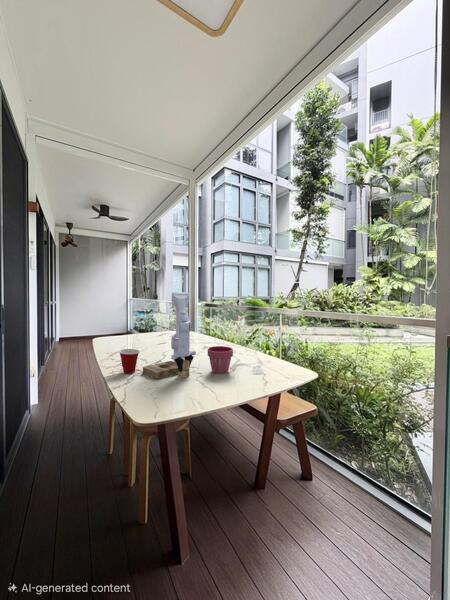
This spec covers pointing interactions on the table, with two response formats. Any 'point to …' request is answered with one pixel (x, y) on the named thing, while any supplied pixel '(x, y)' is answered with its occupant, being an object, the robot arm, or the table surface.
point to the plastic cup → (129, 360)
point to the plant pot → (220, 358)
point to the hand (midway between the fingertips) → (183, 370)
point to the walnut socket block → (161, 370)
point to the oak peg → (185, 369)
